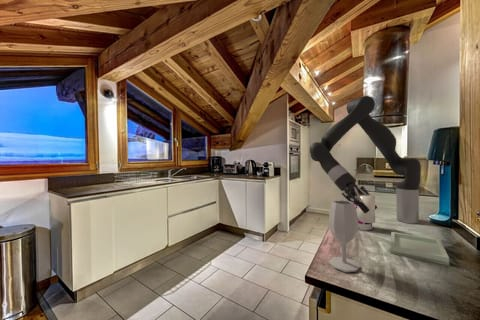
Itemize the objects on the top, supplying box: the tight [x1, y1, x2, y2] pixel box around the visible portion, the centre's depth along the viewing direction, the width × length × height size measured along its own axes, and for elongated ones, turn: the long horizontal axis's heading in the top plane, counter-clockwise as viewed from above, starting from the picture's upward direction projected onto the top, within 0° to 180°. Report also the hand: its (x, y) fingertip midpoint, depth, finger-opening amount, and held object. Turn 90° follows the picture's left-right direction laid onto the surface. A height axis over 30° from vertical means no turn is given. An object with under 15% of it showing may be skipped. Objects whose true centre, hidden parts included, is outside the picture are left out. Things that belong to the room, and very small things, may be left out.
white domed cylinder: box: [358, 194, 376, 224], centre depth 80 cm, size 6×6×10 cm
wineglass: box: [328, 199, 361, 273], centre depth 66 cm, size 9×9×21 cm
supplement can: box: [354, 204, 373, 231], centre depth 99 cm, size 8×8×15 cm
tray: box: [390, 231, 450, 267], centre depth 76 cm, size 17×15×2 cm
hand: (371, 210), depth 79 cm, fingers closed on white domed cylinder, 5 cm apart
